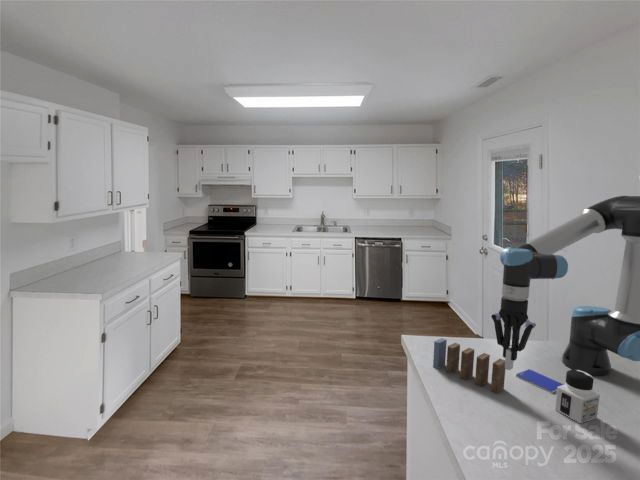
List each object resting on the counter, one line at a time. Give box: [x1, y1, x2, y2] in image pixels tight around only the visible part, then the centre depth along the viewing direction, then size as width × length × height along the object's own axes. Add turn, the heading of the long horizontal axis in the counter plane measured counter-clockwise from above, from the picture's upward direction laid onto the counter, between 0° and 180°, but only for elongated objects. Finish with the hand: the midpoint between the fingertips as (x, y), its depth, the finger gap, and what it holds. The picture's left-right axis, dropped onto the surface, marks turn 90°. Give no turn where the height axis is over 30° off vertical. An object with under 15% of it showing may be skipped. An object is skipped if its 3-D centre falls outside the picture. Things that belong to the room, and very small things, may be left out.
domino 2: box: [459, 347, 475, 381], centre depth 131 cm, size 2×5×10 cm, turn 130°
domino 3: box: [474, 352, 491, 388], centre depth 127 cm, size 2×5×10 cm, turn 130°
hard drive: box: [515, 368, 565, 394], centre depth 129 cm, size 2×8×12 cm
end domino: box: [432, 338, 447, 369], centre depth 139 cm, size 2×5×10 cm, turn 130°
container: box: [554, 369, 601, 424], centre depth 109 cm, size 8×8×13 cm
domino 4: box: [490, 358, 506, 395], centre depth 122 cm, size 2×5×10 cm, turn 130°
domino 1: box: [445, 342, 461, 375], centre depth 135 cm, size 2×5×10 cm, turn 130°
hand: (508, 368), depth 119 cm, fingers closed
